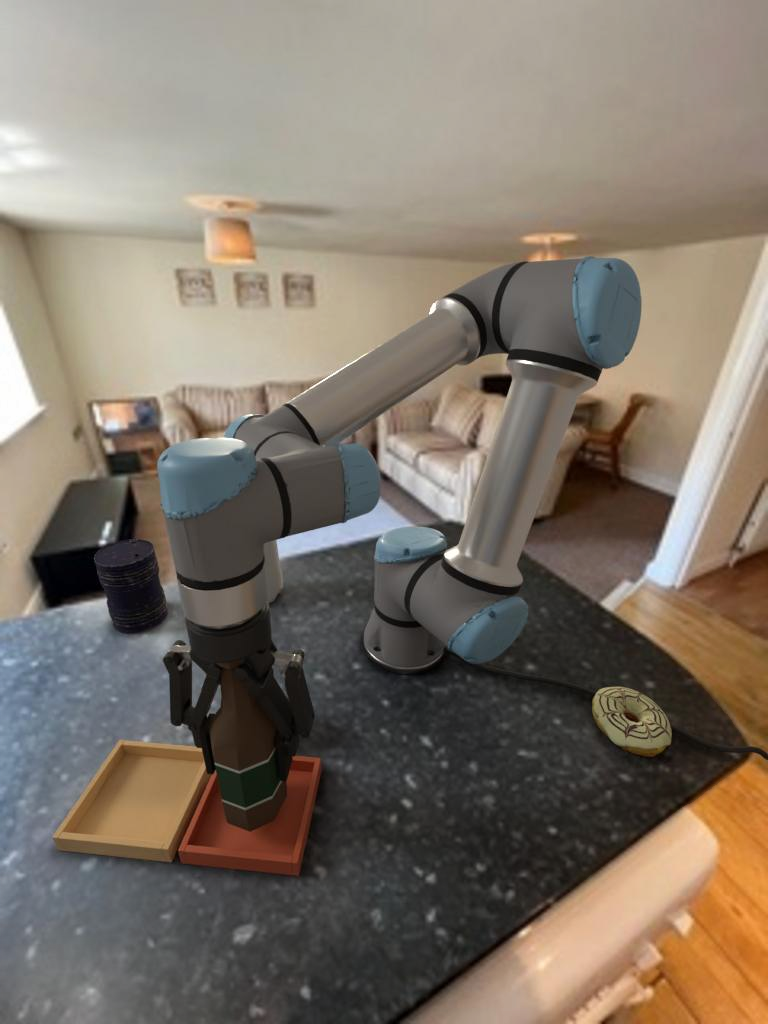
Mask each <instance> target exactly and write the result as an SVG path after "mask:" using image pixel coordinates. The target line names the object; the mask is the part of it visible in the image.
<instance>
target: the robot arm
mask: <svg viewBox="0 0 768 1024" xmlns="http://www.w3.org/2000/svg"><path fill="white" fill-rule="evenodd" d="M641 317H642V295H641V286H640V282H639V278H638V275H637V274H636V272H635V270H634V268H633V267H632V266H631V265H630V264H629V263H628V262H626V260H623V259H621V258H616V257H595V256H592V255H588V256H584V257H582V258H565V259H550V260H549V259H548V260H532V261H525V260H524V261H515V262H510V263H507V264H504V265H501V266H498V267H496V268H494V269H491V270H489V271H486V272H484V273H483V274H481V275H479V276H477V277H474V278H473V279H471V280H470V281H468V282H466V283H465V284H462V285H461V286H459V287H458V288H455V289H454V290H451V292H449V293H447V294H445V295H443V296H442V297H440V298H439V299H438V300H436V301H435V302H434V303H433V304H432V306H431V307H430V310H429V313H428V315H426V316H425V317H422V318H421V319H419V320H418V321H416V322H415V323H413V324H411V325H410V326H408V327H407V328H405V329H404V330H402V331H401V332H399V333H397V334H396V335H394V336H391V338H389V339H387V340H386V341H385V342H383V343H381V344H379V345H378V346H376V347H374V348H372V349H371V350H370V351H368V352H366V353H365V354H363V355H361V356H360V357H358V358H357V359H355V360H353V361H352V362H350V363H348V364H347V365H346V366H344V367H342V368H341V369H339V370H337V371H336V372H333V374H332V373H331V375H329V376H328V377H326V378H324V379H322V380H321V381H319V382H318V383H316V384H315V385H313V386H311V387H310V388H308V389H306V390H305V391H303V392H302V393H300V394H298V395H296V396H295V397H294V398H292V399H290V400H289V401H287V402H285V403H283V404H282V405H280V406H279V407H276V408H275V409H273V410H272V411H269V412H268V413H267V414H264V415H263V414H260V413H259V414H255V413H250V414H244V415H242V416H239V417H237V418H236V419H234V420H233V421H232V422H231V423H230V424H229V426H228V427H227V428H226V430H225V433H224V435H223V437H216V438H215V437H214V438H211V437H201V438H193V439H188V440H183V441H180V442H177V443H175V444H172V445H170V446H168V448H166V449H165V450H164V451H163V452H162V453H161V454H160V455H159V457H158V460H157V464H156V465H157V466H156V467H157V475H158V482H159V490H160V499H161V501H160V509H161V510H162V513H163V518H164V522H165V526H166V532H167V536H168V541H169V547H170V551H171V555H172V560H173V564H174V569H175V574H176V581H177V587H178V591H179V592H178V593H179V598H180V603H181V609H182V613H183V615H184V622H185V628H186V632H187V637H188V643H189V644H187V643H186V642H185V641H184V640H181V639H177V640H175V641H174V642H173V644H172V646H171V647H170V649H169V650H168V651H167V653H165V655H164V656H163V658H162V662H163V664H164V667H165V669H166V671H167V673H168V677H169V678H168V679H169V681H168V682H169V712H170V713H169V717H170V719H169V720H170V724H171V725H173V726H174V727H181V726H182V725H185V726H187V728H188V730H189V731H190V732H191V735H192V738H193V744H194V747H197V748H202V752H203V757H204V762H205V766H206V771H207V774H211V775H212V774H214V772H215V770H216V768H215V763H214V758H213V752H212V747H211V741H210V731H209V727H210V724H211V721H212V718H213V716H214V715H215V714H216V713H212V712H209V711H210V709H211V707H212V704H213V701H214V699H215V696H216V693H217V692H218V688H219V686H221V672H222V669H223V667H220V666H219V665H218V664H217V663H230V662H235V661H239V660H242V659H244V661H245V662H244V663H243V664H240V665H238V666H237V667H236V669H235V671H234V674H235V676H236V677H237V679H238V680H239V681H241V682H242V683H243V684H244V686H245V687H246V689H247V690H248V692H249V693H250V695H251V696H252V697H253V698H255V697H256V698H257V699H258V700H259V702H260V704H261V705H262V707H263V708H264V710H265V711H266V713H267V714H268V716H269V717H270V719H271V720H272V722H273V723H274V725H275V726H276V728H277V729H278V731H279V733H278V736H277V739H276V748H277V758H278V767H279V776H280V781H287V778H288V775H289V771H290V767H291V764H292V760H293V756H294V757H295V756H297V752H298V750H299V745H300V737H301V738H309V737H310V736H311V734H312V733H311V732H312V728H313V724H314V720H315V718H316V714H315V710H314V706H313V702H312V698H311V695H310V690H309V687H308V683H307V679H306V675H305V672H304V668H303V665H304V661H305V651H304V650H303V649H300V648H296V649H294V650H293V651H292V653H289V652H284V651H280V650H278V647H277V646H276V644H275V643H274V641H273V639H272V622H271V612H270V603H268V600H267V582H266V572H265V557H264V543H266V542H270V541H274V540H277V541H278V540H281V539H285V538H287V537H291V536H295V535H298V534H299V535H300V534H303V533H306V532H307V533H308V532H311V531H314V530H315V531H316V530H319V529H323V528H326V527H331V526H334V525H338V524H346V523H347V522H348V521H350V520H352V519H355V518H358V517H361V516H364V515H367V514H369V513H370V512H372V511H373V510H374V509H375V508H376V507H377V505H378V503H379V501H380V497H381V493H382V492H381V483H382V479H381V473H380V470H379V466H378V464H377V461H376V459H375V457H374V455H373V454H372V453H371V452H370V451H369V450H368V449H367V448H366V447H365V446H363V445H361V444H359V443H342V442H343V441H345V440H346V439H348V438H349V437H351V436H352V435H353V434H355V433H357V432H359V430H362V429H363V428H364V427H366V426H367V425H368V424H370V423H372V422H373V421H374V420H376V419H378V418H379V417H380V416H382V415H383V414H385V413H387V412H388V411H389V410H390V409H391V410H392V408H394V407H395V406H397V405H398V404H400V403H401V402H402V401H404V400H406V399H407V398H409V397H410V396H412V395H413V394H415V393H416V392H417V391H419V390H421V389H422V388H424V387H425V386H427V385H428V384H429V383H430V382H432V381H434V380H435V379H436V378H438V377H440V376H441V375H442V374H444V373H445V372H447V371H449V370H450V369H451V368H453V367H454V366H456V365H457V366H468V365H470V364H472V363H473V362H475V361H476V360H478V359H479V358H481V357H485V356H488V355H497V354H498V355H501V354H504V355H505V354H506V355H507V356H506V360H505V366H506V368H507V370H508V371H509V374H510V375H511V383H510V386H509V389H508V392H507V395H506V398H505V401H504V404H503V407H502V409H501V410H502V411H501V413H500V417H499V420H498V423H497V426H496V429H495V432H494V434H493V438H492V441H491V444H490V447H489V450H488V453H487V456H486V459H485V462H484V465H483V468H482V471H481V475H480V478H479V481H478V483H477V487H476V490H475V493H474V496H473V499H472V502H471V505H470V508H469V511H468V514H467V518H466V520H465V524H464V526H463V529H462V532H461V535H460V538H459V541H458V544H457V545H455V546H452V547H451V548H448V549H447V547H448V543H447V539H446V536H445V535H444V534H443V533H442V532H441V531H439V530H437V529H435V528H431V527H426V526H402V527H398V528H397V527H396V528H393V529H390V530H388V531H386V532H384V533H383V534H381V536H379V538H378V539H377V541H376V544H375V551H374V556H373V561H374V590H373V591H374V592H373V593H374V595H373V600H374V601H373V603H374V604H373V610H372V612H371V614H370V616H369V619H368V621H367V624H366V626H365V629H364V632H363V649H364V652H365V654H366V656H367V658H369V660H370V661H371V662H372V663H373V664H374V665H375V666H377V667H379V668H380V669H382V670H384V671H388V672H389V673H393V674H397V675H399V674H400V675H416V674H421V673H424V672H427V671H430V670H432V669H433V668H435V667H436V666H438V665H439V664H440V663H441V661H442V660H443V658H444V657H445V654H446V653H447V654H449V655H451V656H453V657H455V658H456V659H459V660H460V661H461V662H464V663H466V664H468V665H470V666H473V667H475V668H478V669H480V670H485V671H487V672H491V673H494V674H495V673H496V674H500V675H504V676H509V677H512V678H517V679H521V680H522V679H523V680H529V681H535V682H541V683H545V684H546V683H547V684H551V685H556V686H560V687H564V688H568V689H570V690H575V691H577V692H580V693H583V694H587V695H589V696H591V697H595V694H596V693H597V692H598V691H595V690H592V689H590V688H587V687H583V686H581V685H578V684H575V683H571V682H567V681H564V680H560V679H555V678H550V677H546V676H541V675H540V676H539V675H534V674H526V673H523V672H522V673H521V672H517V671H512V670H509V669H503V668H498V667H494V666H490V665H487V664H485V663H488V662H490V661H492V660H494V659H496V658H498V657H499V656H500V655H502V654H503V653H504V652H505V651H506V650H507V649H508V648H510V647H511V645H512V644H513V643H514V642H515V641H516V640H517V638H518V637H519V636H520V634H521V632H522V630H523V629H524V627H525V625H526V623H527V620H528V617H529V607H528V604H527V603H526V601H525V600H524V599H523V598H522V597H521V596H518V595H519V592H520V589H521V587H522V584H523V582H524V578H523V575H522V573H521V571H520V569H519V567H518V562H519V560H520V557H521V554H522V552H523V549H524V546H525V544H526V541H527V538H528V535H529V533H530V530H531V528H532V525H533V523H534V519H535V517H536V514H537V511H538V508H539V505H540V503H541V501H542V497H543V495H544V492H545V490H546V486H547V484H548V481H549V479H550V476H551V473H552V471H553V467H554V465H555V462H556V459H557V456H558V454H559V452H560V448H561V446H562V443H563V441H564V439H565V436H566V432H567V430H568V427H569V425H570V421H571V419H572V417H573V414H574V411H575V408H576V405H577V403H578V400H579V397H580V396H582V394H585V393H586V392H588V391H590V390H591V389H593V388H595V387H597V385H598V382H599V379H600V376H601V375H602V372H603V370H609V369H612V368H615V367H618V366H620V365H621V364H622V363H623V362H625V359H626V357H627V356H628V355H629V354H630V353H631V351H632V349H633V347H634V345H635V343H636V340H637V337H638V332H639V328H640V325H641ZM341 443H342V444H341ZM193 663H194V664H196V665H197V667H199V668H200V669H201V670H202V671H203V672H204V673H205V678H204V680H203V682H202V683H203V684H202V685H201V689H200V693H199V696H198V699H197V701H196V704H195V706H193ZM273 666H276V667H277V668H278V669H279V670H278V671H279V673H280V678H281V679H284V688H285V691H286V694H285V691H284V690H283V689H282V687H281V686H280V684H279V683H278V681H277V679H276V677H275V676H274V668H273ZM287 698H289V700H288V699H287ZM670 727H671V731H672V732H674V733H676V734H678V735H680V736H682V737H683V738H685V739H688V740H690V741H692V742H694V743H696V744H699V745H702V746H704V747H706V748H710V749H713V750H715V751H719V752H723V753H730V754H731V753H732V754H733V753H734V754H738V753H754V754H757V755H759V756H761V757H762V758H763V759H764V760H766V761H768V753H767V751H765V750H763V748H760V747H758V746H754V745H753V746H752V745H740V746H739V745H737V746H733V745H731V746H728V745H722V744H718V743H715V742H712V741H710V740H706V739H704V738H701V737H699V736H696V735H695V734H692V733H690V732H688V731H686V730H684V729H682V728H680V727H677V726H675V725H674V724H671V723H670Z"/></svg>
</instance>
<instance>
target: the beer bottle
mask: <svg viewBox="0 0 768 1024" xmlns="http://www.w3.org/2000/svg"><path fill="white" fill-rule="evenodd" d="M244 662H245V661H244V659H242V660H239V661H235V662H230V663H217V664H218V665H219V666H220V667H223V669H222V672H221V685H220V696H221V697H220V707H219V708H218V710H217V711H216V712H215V713H214V714H215V715H214V716H213V718H212V721H211V724H210V727H209V731H210V741H211V747H212V752H213V758H214V763H215V768H216V773H217V778H218V783H219V788H220V793H221V798H222V803H223V808H224V813H225V817H226V820H227V823H229V824H231V825H234V826H236V827H239V828H241V829H244V830H246V831H249V832H251V831H253V830H255V829H257V828H260V827H262V826H264V825H266V824H268V823H270V822H272V821H274V820H275V818H276V816H277V814H278V813H279V811H280V809H281V807H282V805H283V803H284V801H285V799H286V797H287V782H286V781H280V776H279V767H278V758H277V748H276V739H277V736H278V733H279V731H278V729H277V728H276V726H275V725H274V723H273V722H272V720H271V719H270V717H269V716H268V714H267V713H266V711H265V710H264V708H263V707H262V705H261V704H260V702H259V700H258V699H257V698H256V697H255V698H253V697H252V696H251V695H250V693H249V692H248V690H247V689H246V687H245V686H244V684H243V683H242V682H241V681H239V680H238V679H237V677H236V676H235V674H234V671H235V669H236V667H237V666H238V665H240V664H243V663H244Z"/></svg>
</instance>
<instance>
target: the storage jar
mask: <svg viewBox="0 0 768 1024" xmlns="http://www.w3.org/2000/svg"><path fill="white" fill-rule="evenodd" d="M93 560H94V564H95V567H96V574H97V576H98V579H99V584H100V585H101V587H102V588H103V589H104V592H105V596H106V597H105V598H106V606H107V609H108V614H109V618H110V619H111V621H112V625H113V628H114V630H115V631H116V632H118V633H120V634H125V635H135V634H141V633H145V632H147V631H150V630H152V629H155V628H157V627H158V626H159V625H161V624H162V623H163V622H164V621H165V620H166V619H167V618H168V615H169V610H168V606H167V605H168V604H167V598H166V593H165V590H164V587H163V585H162V584H161V579H160V567H159V562H158V557H157V555H156V551H155V546H154V544H153V543H152V542H151V541H149V540H146V539H138V538H132V539H125V540H119V541H117V542H114V543H113V542H112V543H110V544H108V545H106V546H103V548H100V549H99V550H98V551H97V552H96V553H95V554H94V557H93Z"/></svg>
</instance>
